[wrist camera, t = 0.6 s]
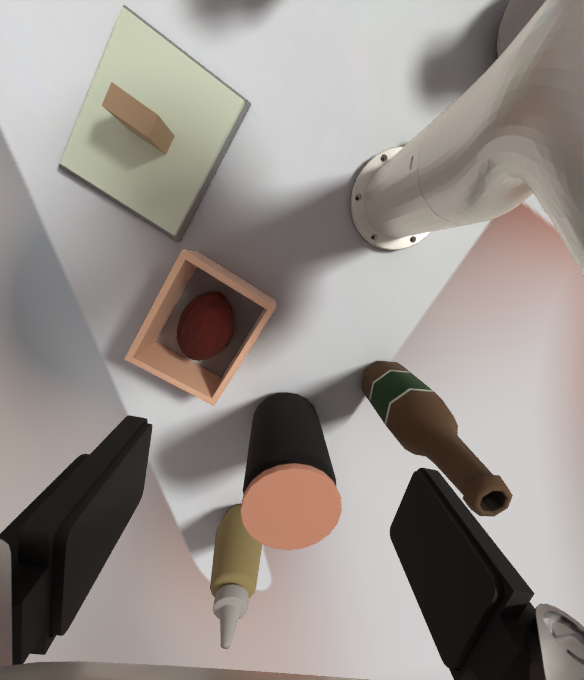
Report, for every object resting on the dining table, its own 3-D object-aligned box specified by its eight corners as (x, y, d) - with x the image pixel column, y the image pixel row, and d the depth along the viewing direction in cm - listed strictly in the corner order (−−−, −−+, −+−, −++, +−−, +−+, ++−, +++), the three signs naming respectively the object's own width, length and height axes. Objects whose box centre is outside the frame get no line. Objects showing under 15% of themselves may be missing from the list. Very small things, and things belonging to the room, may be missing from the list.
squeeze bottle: (270, 524, 52) (269, 655, 35) (230, 538, 52) (208, 674, 35) (254, 492, 50) (243, 614, 33) (212, 506, 50) (180, 635, 33)
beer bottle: (415, 371, 46) (561, 484, 22) (389, 409, 47) (498, 551, 24) (376, 350, 44) (488, 446, 21) (350, 390, 46) (428, 520, 23)
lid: (126, 12, 31) (94, -43, 25) (244, 103, 34) (238, 72, 28) (64, 165, 34) (23, 146, 29) (176, 236, 37) (158, 231, 32)
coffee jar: (289, 457, 48) (297, 565, 31) (239, 423, 46) (218, 520, 29) (330, 413, 47) (363, 502, 29) (280, 376, 44) (284, 450, 27)
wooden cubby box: (198, 251, 39) (182, 249, 32) (275, 300, 41) (276, 307, 34) (148, 343, 42) (124, 359, 35) (223, 384, 44) (214, 405, 37)
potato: (177, 343, 42) (161, 356, 36) (198, 280, 40) (185, 283, 34) (223, 360, 43) (215, 376, 37) (247, 299, 41) (242, 306, 35)
